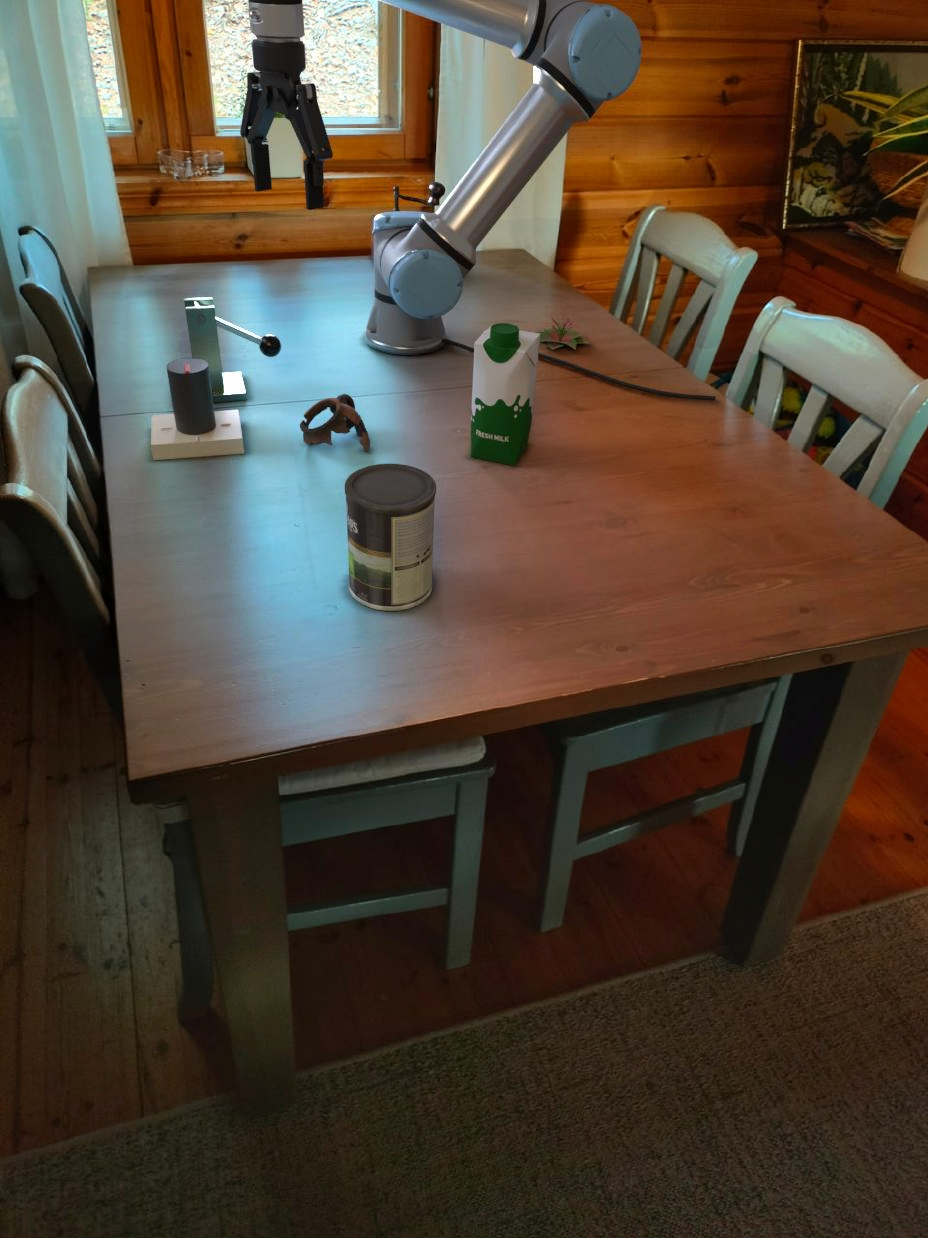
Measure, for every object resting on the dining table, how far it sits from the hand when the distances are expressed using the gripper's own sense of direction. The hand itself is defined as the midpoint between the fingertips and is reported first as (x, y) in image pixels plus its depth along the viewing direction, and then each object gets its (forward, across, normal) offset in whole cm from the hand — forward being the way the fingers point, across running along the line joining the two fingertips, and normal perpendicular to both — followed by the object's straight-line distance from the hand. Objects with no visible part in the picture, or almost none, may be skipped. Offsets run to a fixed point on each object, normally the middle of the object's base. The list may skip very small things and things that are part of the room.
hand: (288, 199), depth 142 cm
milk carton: (+29, +43, +6) cm, 52 cm away
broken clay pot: (+29, +25, -11) cm, 40 cm away
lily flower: (+29, +18, +49) cm, 59 cm away
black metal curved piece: (+29, -38, +58) cm, 75 cm away
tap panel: (+29, +11, -27) cm, 41 cm away
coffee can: (+29, +59, -30) cm, 72 cm away
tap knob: (+26, +11, -27) cm, 39 cm away
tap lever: (+20, -1, -12) cm, 24 cm away
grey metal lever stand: (+29, -4, -16) cm, 33 cm away
